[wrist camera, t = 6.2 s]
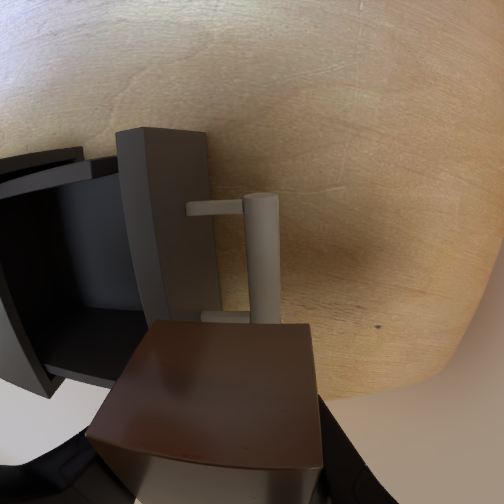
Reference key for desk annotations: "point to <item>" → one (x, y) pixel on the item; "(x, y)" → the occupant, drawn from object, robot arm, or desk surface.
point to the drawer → (127, 251)
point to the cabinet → (3, 308)
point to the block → (215, 415)
